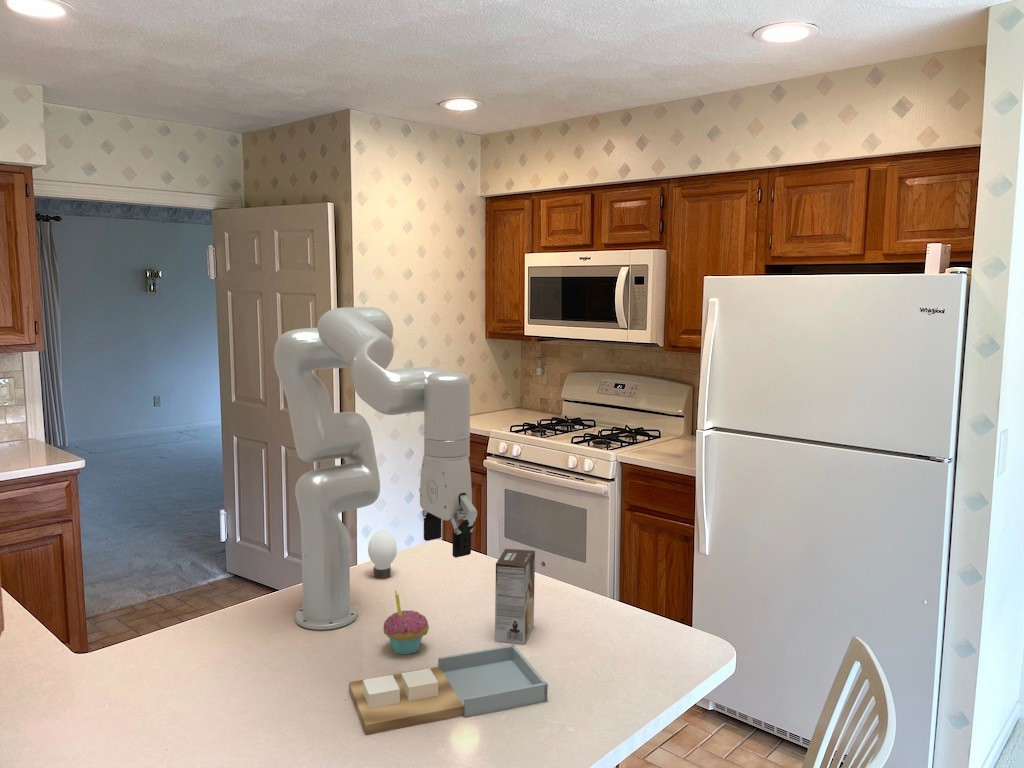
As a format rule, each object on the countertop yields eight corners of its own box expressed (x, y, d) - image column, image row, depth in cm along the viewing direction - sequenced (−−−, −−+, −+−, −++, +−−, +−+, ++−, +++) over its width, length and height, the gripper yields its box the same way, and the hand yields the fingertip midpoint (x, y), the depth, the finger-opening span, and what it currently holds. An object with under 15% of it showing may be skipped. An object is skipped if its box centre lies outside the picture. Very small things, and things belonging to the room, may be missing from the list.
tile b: (401, 686, 134) (401, 673, 134) (429, 681, 136) (429, 668, 136) (408, 701, 130) (408, 687, 129) (438, 695, 131) (438, 682, 131)
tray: (438, 673, 142) (438, 657, 142) (513, 660, 148) (513, 644, 147) (464, 717, 128) (465, 699, 128) (547, 700, 134) (547, 684, 133)
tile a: (363, 693, 132) (362, 679, 132) (392, 688, 134) (392, 674, 133) (369, 708, 127) (369, 694, 127) (399, 703, 129) (399, 689, 129)
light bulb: (364, 580, 185) (363, 534, 184) (373, 569, 192) (373, 525, 190) (391, 582, 184) (391, 536, 183) (400, 571, 191) (400, 527, 189)
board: (349, 691, 136) (349, 682, 135) (439, 675, 142) (439, 666, 141) (365, 734, 123) (365, 725, 123) (463, 715, 129) (463, 706, 128)
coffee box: (503, 622, 164) (505, 547, 162) (534, 625, 163) (535, 549, 160) (493, 641, 155) (495, 562, 153) (526, 645, 154) (527, 565, 151)
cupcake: (391, 662, 146) (391, 600, 144) (377, 643, 153) (376, 584, 152) (435, 653, 150) (435, 592, 148) (419, 635, 157) (419, 577, 156)
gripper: (402, 440, 136) (403, 537, 138) (454, 460, 122) (453, 567, 124) (440, 436, 140) (440, 529, 142) (494, 454, 126) (493, 558, 128)
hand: (446, 547), depth 133 cm, fingers open, 9 cm apart
